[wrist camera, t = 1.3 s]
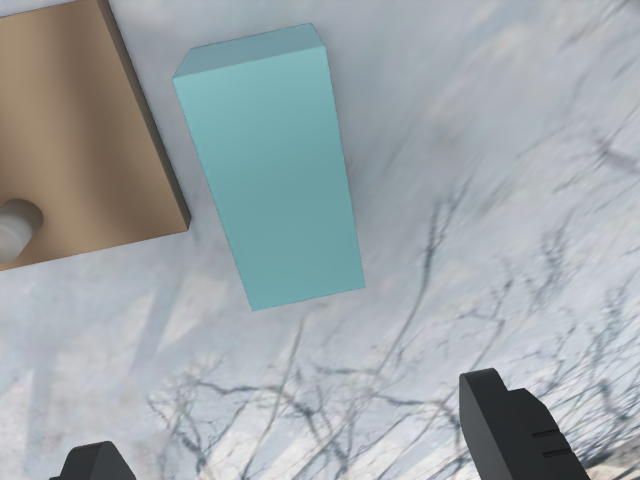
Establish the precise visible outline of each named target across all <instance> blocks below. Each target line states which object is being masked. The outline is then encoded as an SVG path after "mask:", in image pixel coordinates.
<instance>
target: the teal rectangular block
mask: <svg viewBox="0 0 640 480" xmlns="http://www.w3.org/2000/svg"><path fill="white" fill-rule="evenodd" d="M172 82H173V84H174V87H175V90H176V93H177V96H178V99H179V102H180V105H181V107H182V110H183V113H184V116H185V119H186V122H187V125H188V128H189V130H190V133H191V136H192V139H193V142H194V145H195V148H196V151H197V153H198V156H199V159H200V162H201V165H202V168H203V171H204V174H205V176H206V179H207V182H208V185H209V188H210V191H211V194H212V197H213V199H214V202H215V205H216V208H217V211H218V214H219V217H220V220H221V222H222V225H223V228H224V231H225V234H226V237H227V240H228V243H229V245H230V248H231V251H232V254H233V257H234V260H235V263H236V266H237V268H238V271H239V274H240V277H241V280H242V283H243V286H244V289H245V291H246V294H247V297H248V300H249V303H250V306H251V309H252V311H256V310H261V309H266V308H270V307H275V306H280V305H284V304H289V303H294V302H299V301H303V300H308V299H313V298H317V297H322V296H327V295H331V294H336V293H341V292H346V291H350V290H355V289H360V288H364V287H365V281H364V275H363V269H362V263H361V257H360V251H359V245H358V239H357V233H356V227H355V221H354V215H353V209H352V203H351V197H350V191H349V185H348V179H347V173H346V168H345V162H344V156H343V150H342V144H341V138H340V132H339V126H338V120H337V114H336V108H335V102H334V96H333V90H332V84H331V78H330V72H329V66H328V60H327V54H326V48H325V45H324V43H323V41H322V40H321V38H320V36H319V35H318V33H317V32H316V30H315V28H314V27H313V25H312V24H311V23H308V24H303V25H298V26H294V27H289V28H285V29H280V30H276V31H271V32H266V33H262V34H257V35H253V36H248V37H243V38H239V39H234V40H230V41H225V42H220V43H216V44H211V45H207V46H202V47H197V48H193V49H191V50H190V51H189V53H188V54H187V56H186V57H185V59H184V60H183V62H182V63H181V65H180V67H179V68H178V70H177V71H176V73H175V74H174V76H173V77H172Z"/></svg>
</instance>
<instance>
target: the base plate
mask: <svg viewBox="0 0 640 480" xmlns="http://www.w3.org/2000/svg"><path fill="white" fill-rule="evenodd" d="M190 221H191V216H190V213H189V211H188V208H187V205H186V203H185V200H184V198H183V195H182V192H181V190H180V187H179V185H178V182H177V179H176V177H175V174H174V172H173V169H172V167H171V164H170V161H169V159H168V156H167V154H166V151H165V148H164V146H163V143H162V141H161V138H160V135H159V133H158V130H157V128H156V125H155V122H154V120H153V117H152V115H151V112H150V110H149V107H148V104H147V102H146V99H145V97H144V94H143V91H142V89H141V86H140V84H139V81H138V78H137V76H136V73H135V71H134V68H133V66H132V63H131V60H130V58H129V55H128V53H127V50H126V47H125V45H124V42H123V40H122V37H121V34H120V32H119V29H118V27H117V24H116V22H115V19H114V16H113V14H112V11H111V9H110V6H109V3H108V1H107V0H77V1H72V2H68V3H63V4H59V5H54V6H50V7H45V8H41V9H36V10H31V11H27V12H22V13H18V14H13V15H9V16H4V17H0V271H3V270H8V269H12V268H17V267H22V266H26V265H31V264H36V263H40V262H45V261H50V260H54V259H59V258H64V257H68V256H73V255H78V254H82V253H87V252H92V251H96V250H101V249H106V248H110V247H115V246H120V245H124V244H129V243H134V242H138V241H143V240H148V239H152V238H157V237H162V236H166V235H171V234H176V233H180V232H185V231H188V229H189V225H190Z"/></svg>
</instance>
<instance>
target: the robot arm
mask: <svg viewBox="0 0 640 480" xmlns="http://www.w3.org/2000/svg"><path fill="white" fill-rule="evenodd" d="M459 414H460V422H461V427H462V431H463V435H464V438H465V441H466V443H467V446H468V448H469V451H470V453H471V456H472V458H473V461H474V463H475V466H476V468H477V471H478V473H479V476H480V478H481V480H590V478H589V476H588V475H587V473H586V471H585V470H584V468H583V466H582V465H581V463H580V462H579V460H578V458H577V457H576V455H575V453H574V452H572V450H571V447H570V445H569V443H568V442H567V440H566V438H565V437H564V435H563V434H562V433H561V432H560V430H559V427H558V425H557V424H556V422H555V420H554V419H553V417H552V415H551V414H550V412H549V411H548V409H547V407H546V406H545V405H544V404H543V403H542V402H541V401H539V400H538V399H537V398H536V397H535V396H533V395H532V394H531V393H530V392H529V391H527V390H526V389H525V388H521V389H516V390H511V391H508V390H507V388H506V386H505V385H504V383H503V381H502V379H501V377H500V375H499V374H498V372H497V371H496V370H495V369H494V368H489V369H484V370H478V371H473V372H468V373H463V374H460V377H459ZM49 480H136V477H135V475H134V474H133V472H132V471H131V469H130V468H129V466H128V465H127V463H126V462H125V460H124V459H123V457H122V456H121V454H120V453H119V451H118V450H117V448H116V447H115V445H114V444H113V443H112V442H111V441H104V442H99V443H94V444H88V445H83V446H78V447H75V448H73V449H72V450H71V451H70V452H69V454H68V456H67V458H66V461H65V463H64V466H63V469H62V471H61V474H60V476H58V477H53V478H50V479H49Z"/></svg>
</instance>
